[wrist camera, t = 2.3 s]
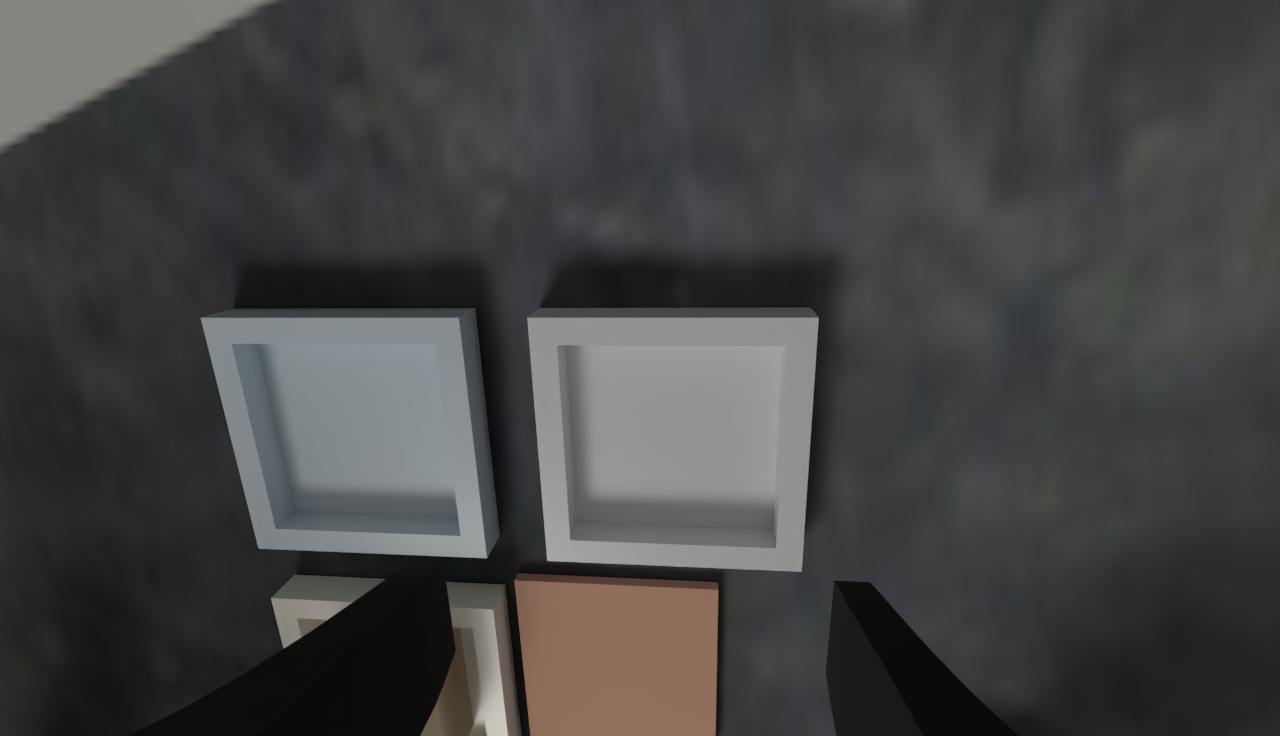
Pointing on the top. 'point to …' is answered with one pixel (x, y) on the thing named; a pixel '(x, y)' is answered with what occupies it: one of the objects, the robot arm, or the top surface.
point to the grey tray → (674, 434)
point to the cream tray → (471, 611)
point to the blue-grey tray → (359, 428)
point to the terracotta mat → (618, 655)
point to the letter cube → (452, 700)
